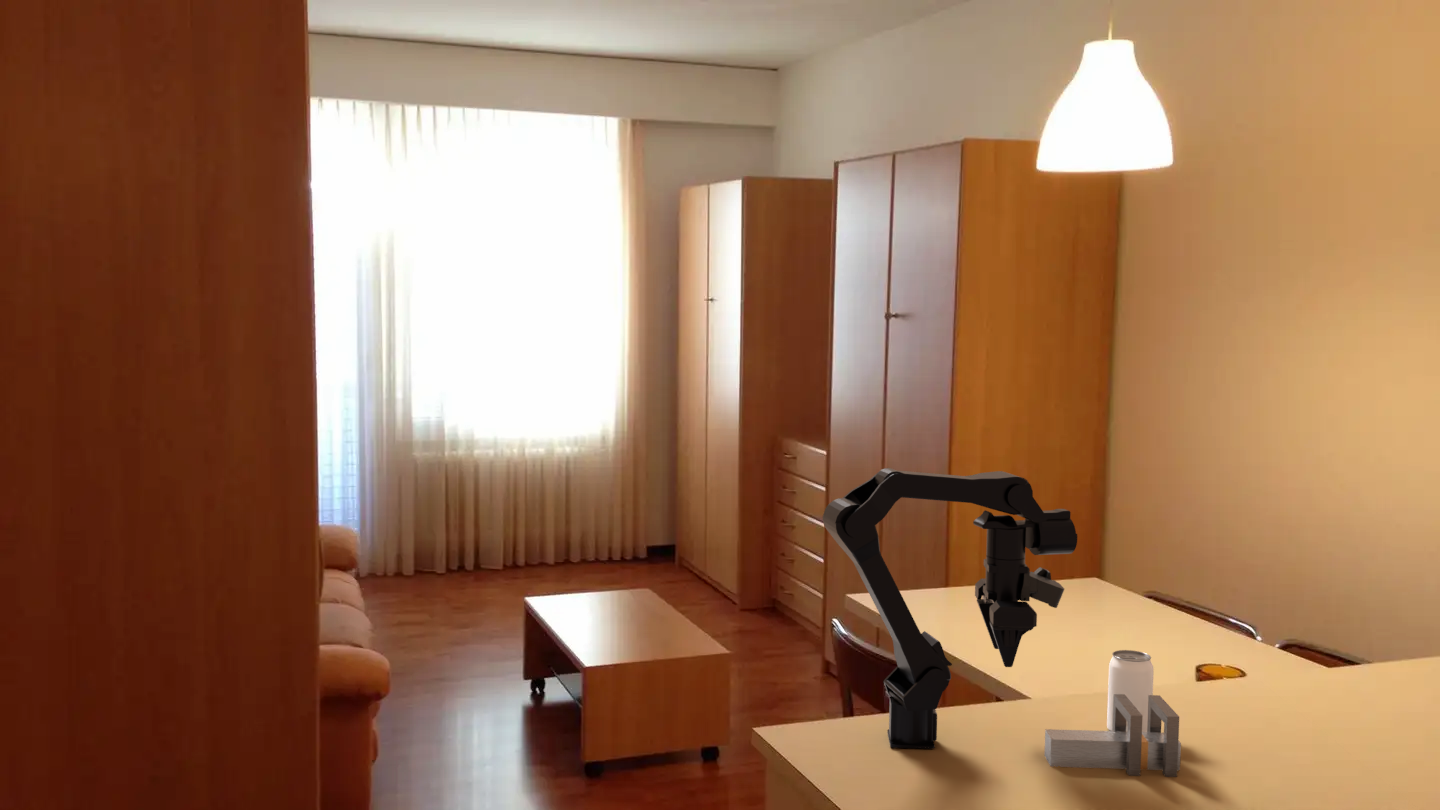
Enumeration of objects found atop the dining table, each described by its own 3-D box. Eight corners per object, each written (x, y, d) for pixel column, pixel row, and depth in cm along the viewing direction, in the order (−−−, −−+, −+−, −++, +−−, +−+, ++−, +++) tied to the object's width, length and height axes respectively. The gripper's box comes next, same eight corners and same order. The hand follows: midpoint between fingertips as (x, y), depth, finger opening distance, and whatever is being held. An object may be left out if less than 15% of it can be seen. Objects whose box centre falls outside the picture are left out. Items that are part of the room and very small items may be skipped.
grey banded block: (1050, 766, 168) (1051, 739, 168) (1044, 755, 172) (1045, 728, 172) (1179, 770, 167) (1181, 743, 167) (1170, 759, 171) (1171, 732, 171)
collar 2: (1165, 776, 165) (1167, 716, 164) (1146, 752, 174) (1148, 695, 173) (1176, 776, 165) (1179, 716, 164) (1157, 752, 174) (1159, 695, 173)
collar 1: (1128, 775, 165) (1130, 715, 164) (1111, 751, 174) (1113, 694, 173) (1140, 775, 165) (1142, 715, 164) (1122, 751, 174) (1124, 694, 173)
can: (1154, 740, 178) (1157, 662, 177) (1109, 737, 180) (1112, 660, 179) (1147, 725, 185) (1150, 650, 184) (1104, 722, 186) (1107, 647, 185)
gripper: (1074, 571, 168) (1071, 678, 170) (1047, 544, 187) (1044, 641, 188) (995, 569, 169) (992, 676, 170) (975, 543, 188) (973, 639, 189)
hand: (1002, 657), depth 180 cm, fingers open, 9 cm apart
